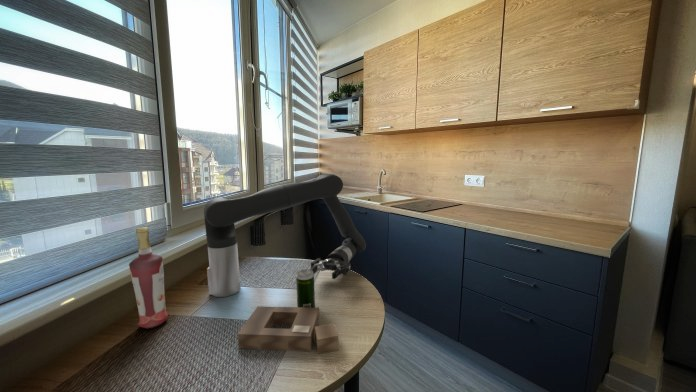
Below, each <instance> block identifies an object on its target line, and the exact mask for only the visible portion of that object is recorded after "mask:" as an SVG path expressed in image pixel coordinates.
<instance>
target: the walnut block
mask: <svg viewBox="0 0 696 392" xmlns="http://www.w3.org/2000/svg"><path fill="white" fill-rule="evenodd" d="M314 342H315V347H316V350H317V351H316V352H317V354H318V355H323V354H326V353H327V354H328V353H332V352H337V351H339V334H338V331H337V329H336V325H335V323H328V324H322V325H318V326H316V327H315V338H314Z"/></svg>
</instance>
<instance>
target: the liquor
mask: <svg viewBox="0 0 696 392" xmlns="http://www.w3.org/2000/svg"><path fill="white" fill-rule="evenodd" d="M135 233H136V235H135V236H136V237H137V240H138V256H137V257H135V258H133V259H132V260H131V262H129V263H128V267H129V271H130V277H131V283H132V285H133V289H134V295H135V300H136V305H137V309H138V310H137V311H138V317H139V322H138V323H137V325H138V326H139V327H141V328H143V329H147V330H149V328H150V329H154V327H155V328H156V327H159V326H160V325H162V324H163V323H165V322H166V320H167V319H168V318H169V313H168V312H167V309H166V295H165V293H166V292H165V273H164V272H165V271H164V260H163V256H161V255H159V254H155V253H153V251H152V247H151V244H150V229H149V227H147V226H146V227H145V226H144V227H138V228H136V229H135Z"/></svg>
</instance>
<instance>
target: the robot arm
mask: <svg viewBox="0 0 696 392" xmlns="http://www.w3.org/2000/svg"><path fill="white" fill-rule="evenodd" d="M343 188H344V182H343V180H342V178H341V177H339V176H338V175H336V174H332V173H322V174H320V175H318V176H317V177H316V179H315V180H312V181H304V182H302V181H301V182H289V183H288V182H287V183H282V184H278V185H274V186H270V187H268V188H267V187H266V188H264V189H262V190H259V191H257V192H255V193H253V194H251V195H250V194H249V195H247V196H244V197H239V198H238V197H237V198H232V199H227V198H225V197H218V196H217V197H214V198H212V199H210V200H208V201H207V202H206V204H205V206H204V208H203V209H204V210H203V216H204V217H203V218H204V226H205V235H206V236H205V237H206V245H207V254H208V265H209V266H208V267H207V268H206V273H207V274H206V275H207V286H208V294H209V295H211V296H213V297H215V298H226V297H229V296H233V295H235V294H236V293H238V292H239V291H240V290H241V279H240V278H241V276H240V265H239V252H238V251H239V250H238V248H239V247H238V237H237V233H236V225H235V224H236V223H238V222H242V221H243V220H246V219H248V218H249V219H250V218H252V217H256V216H260V215H267V214H270V213H274V212H278V211H281V210H286V209H289V208H293V207H295V206H299V205H302V204H305V203H307V202H311V201H315V200H319V199H322V200H323V202H324V203H325V205H326V206H327V209H329V212H330V213H331V216H332V217H333V219H334V221H335V224H336V226H337V228H338V231H339V233H340V235H341V236H342V237H343V238H345V239H344V240H343V241H342V243H341V245H340V246H339V247H337V248H336V249H334V250H333V251H332V252H331V253H329V254H328V256H327V258H326V259H324V260H322V259H321V257H317V258H316V259H314V260H313V261H312V262H310V268H309V270H312V271H313V274H314V275H315V274H316V273H317V272H318V271H320V272H324V271H333V272H332V273H331V279H332V280H335V279H337V278H338V277H339V276H342V275H343V276H347V274H348V273H349V272H350V271H351V262H350V261H351V260H352V259H353V258H354V257H355V255H356V253H357V254H358V253H362V252H364V251H365V250H366V247H367V243H366V241H365V238H364V237H363V235H362V234H361V232H359V230H357V228H356V227H355V223H354V222H353V219H352V217H351V215H350V214H349V212H348V211H347V210H346V208H345V206H344V205H343V203H341V201H340V199H339V197H338V195H339V194H340V193H341V192H342V190H343Z"/></svg>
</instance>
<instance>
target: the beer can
mask: <svg viewBox="0 0 696 392" xmlns="http://www.w3.org/2000/svg"><path fill="white" fill-rule="evenodd" d="M295 280H296V281H295V282H296V283H295V284H296V301H297V305H296V307H304V308H316V307H315V306H316V300H315V299H316V298H315V297H316V296H315V294H316V293H315V291H316V290H315V273H314V274H313V271H312V270H310V268H309V269H308V268H307V269H306V268H304V269H301V270H298V271H297V272H296V277H295Z"/></svg>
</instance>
